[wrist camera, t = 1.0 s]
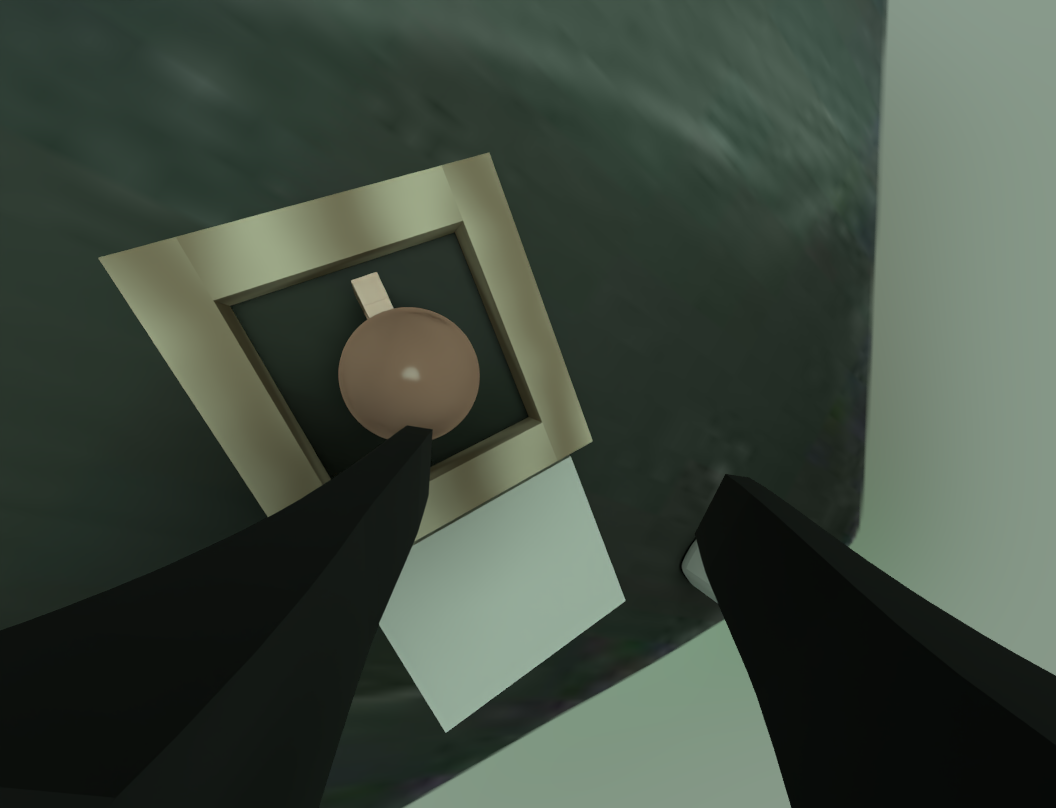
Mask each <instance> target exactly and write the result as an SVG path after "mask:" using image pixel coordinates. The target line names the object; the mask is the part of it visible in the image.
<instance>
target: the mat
mask: <svg viewBox="0 0 1056 808" xmlns="http://www.w3.org/2000/svg"><path fill="white" fill-rule="evenodd" d="M624 601H625V598H624V595H623V593H622V590H621V587H620V585H619V582H618V580H617V577H616V574H615V572H614V569H613V566H612V564H611V561H610V559H609V556H608V553H607V551H606V548H605V545H604V543H603V540H602V538H601V535H600V532H599V530H598V527H597V524H596V522H595V519H594V517H593V514H592V511H591V509H590V506H589V503H588V501H587V498H586V495H585V493H584V490H583V488H582V485H581V482H580V480H579V477H578V474H577V472H576V469H575V467H574V464H573V461H572V459H571V456H569V455H568V456H566V457H564V458H563V459H561V460H559V461H557V462H556V463H554V464H552V465H550V466H548V467H547V468H545V469H543V470H541V471H540V472H538V473H536V474H534V475H532V476H531V477H529V478H527V479H525V480H524V481H522V482H520V483H518V484H517V485H515V486H513V487H511V488H509V489H508V490H506V491H504V492H502V493H501V494H499V495H497V496H495V497H493V498H492V499H490V500H488V501H486V502H485V503H483V504H481V505H479V506H478V507H476V508H474V509H472V510H470V511H469V512H467V513H465V514H463V515H462V516H460V517H458V518H456V519H454V520H453V521H451V522H449V523H447V524H446V525H444V526H442V527H440V528H439V529H437V530H435V531H433V532H431V533H430V534H428V535H426V536H424V537H423V538H421V539H419V540H417V541H415V542H414V543H413V546H412V548H411V550H410V553H409V555H408V557H407V560H406V562H405V565H404V567H403V569H402V571H401V574H400V576H399V578H398V581H397V583H396V585H395V588H394V590H393V592H392V595H391V597H390V599H389V602H388V604H387V606H386V609H385V611H384V613H383V616H382V618H381V620H380V623H379V625H380V627H381V629H382V630H383V632H384V633H385V635H386V637H387V638H388V640H389V642H390V643H391V645H392V646H393V648H394V650H395V651H396V653H397V654H398V656H399V658H400V659H401V661H402V663H403V664H404V666H405V667H406V669H407V671H408V672H409V674H410V676H411V677H412V679H413V680H414V682H415V684H416V685H417V687H418V689H419V690H420V692H421V693H422V695H423V697H424V698H425V700H426V702H427V703H428V705H429V706H430V708H431V710H432V711H433V713H434V714H435V716H436V718H437V719H438V721H439V723H440V724H441V726H442V727H443V729H444V731H445V732H448V731H449V730H450V729H452V728H453V727H454V726H456V725H457V724H458V723H460V722H461V721H462V720H464V719H465V718H467V717H468V716H469V715H471V714H472V713H473V712H475V711H476V710H477V709H479V708H480V707H482V706H483V705H484V704H486V703H487V702H488V701H490V700H491V699H492V698H494V697H495V696H496V695H498V694H499V693H501V692H502V691H503V690H505V689H506V688H507V687H509V686H510V685H511V684H513V683H514V682H516V681H517V680H518V679H520V678H521V677H522V676H524V675H525V674H526V673H528V672H529V671H531V670H532V669H533V668H535V667H536V666H537V665H539V664H540V663H541V662H543V661H544V660H545V659H547V658H548V657H550V656H551V655H552V654H554V653H555V652H556V651H558V650H559V649H560V648H562V647H563V646H565V645H566V644H567V643H569V642H570V641H571V640H573V639H574V638H575V637H577V636H578V635H580V634H581V633H582V632H584V631H585V630H586V629H588V628H589V627H590V626H592V625H593V624H594V623H596V622H597V621H599V620H600V619H601V618H603V617H604V616H605V615H607V614H608V613H609V612H611V611H612V610H614V609H615V608H616V607H618V606H619V605H620V604H622V603H623V602H624Z"/></svg>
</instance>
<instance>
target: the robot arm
mask: <svg viewBox="0 0 1056 808" xmlns="http://www.w3.org/2000/svg"><path fill="white" fill-rule="evenodd" d="M432 434H433V429H428V428H421V427H415V426H408V425H407V426H405V427H404V428H402V429H401V430H400V431H398V432H397V433H395V434H394V435H393V436H391V437H390V438H389V439H387V440H386V441H385V442H383V443H382V444H381V445H379V446H378V447H377V448H375V449H374V450H373V451H371V452H370V453H368V454H367V455H366V456H364V457H363V458H361V459H360V460H359V461H357V462H356V463H354V464H353V465H352V466H350V467H349V468H347V469H346V470H344V471H343V472H342V473H340V474H339V475H337V476H336V477H334V478H333V479H331V480H329V481H328V482H326V483H325V484H323V485H322V486H320V487H318V488H317V489H315V490H314V491H312V492H311V493H309V494H307V495H306V496H304V497H303V498H301V499H299V500H298V501H296V502H294V503H293V504H291V505H289V506H287V507H285V508H284V509H282V510H280V511H278V512H277V513H275V514H273V515H271V516H269V517H267V518H265V519H263V520H261V521H260V522H258V523H256V524H254V525H252V526H250V527H248V528H246V529H244V530H242V531H240V532H238V533H236V534H234V535H232V536H230V537H228V538H226V539H224V540H222V541H219V542H217V543H215V544H213V545H211V546H209V547H206V548H204V549H202V550H200V551H198V552H196V553H193V554H191V555H189V556H187V557H185V558H183V559H180V560H178V561H176V562H174V563H172V564H170V565H167V566H165V567H163V568H161V569H158V570H156V571H154V572H151V573H149V574H146V575H144V576H141V577H139V578H137V579H134V580H132V581H129V582H127V583H125V584H122V585H120V586H117V587H115V588H112V589H110V590H107V591H105V592H102V593H100V594H97V595H95V596H92V597H89V598H87V599H84V600H82V601H79V602H77V603H74V604H71V605H69V606H66V607H64V608H61V609H59V610H56V611H53V612H51V613H48V614H45V615H42V616H40V617H37V618H34V619H32V620H29V621H26V622H24V623H21V624H18V625H15V626H12V627H9V628H6V629H4V630H1V631H0V808H319V805H320V802H321V798H322V795H323V792H324V789H325V785H326V782H327V779H328V776H329V772H330V769H331V766H332V763H333V759H334V756H335V753H336V750H337V747H338V744H339V740H340V737H341V734H342V731H343V728H344V725H345V722H346V718H347V715H348V712H349V709H350V706H351V703H352V700H353V697H354V694H355V691H356V688H357V685H358V681H359V678H360V675H361V672H362V669H363V666H364V663H365V660H366V657H367V654H368V651H369V648H370V646H371V643H372V640H373V638H374V635H375V633H376V630H377V627H378V625H379V623H380V620H381V618H382V616H383V613H384V611H385V609H386V606H387V604H388V602H389V599H390V597H391V595H392V592H393V590H394V588H395V585H396V583H397V581H398V578H399V576H400V574H401V571H402V569H403V567H404V565H405V562H406V560H407V557H408V555H409V553H410V550H411V548H412V546H413V543H414V541H415V538H416V536H417V534H418V530H419V527H420V524H421V520H422V517H423V514H424V510H425V507H426V503H427V500H428V496H429V483H430V467H431V451H432ZM695 536H696V540H697V544H698V548H699V552H700V556H701V559H702V563H703V566H704V569H705V573H706V575H707V578H708V580H709V583H710V585H711V588H712V590H713V593H714V595H715V597H716V600H717V602H718V605H719V607H720V609H721V612H722V614H723V616H724V619H725V621H726V623H727V625H728V628H729V630H730V632H731V635H732V637H733V639H734V641H735V644H736V646H737V648H738V651H739V653H740V655H741V658H742V660H743V663H744V665H745V667H746V669H747V672H748V674H749V677H750V680H751V682H752V685H753V688H754V690H755V693H756V695H757V698H758V701H759V704H760V708H761V710H762V714H763V717H764V720H765V723H766V726H767V729H768V732H769V735H770V738H771V741H772V744H773V747H774V751H775V754H776V757H777V761H778V764H779V767H780V771H781V774H782V778H783V781H784V784H785V788H786V791H787V794H788V798H789V801H790V805H791V808H1056V676H1055V675H1053V674H1051V673H1050V672H1048V671H1046V670H1044V669H1042V668H1040V667H1039V666H1037V665H1035V664H1033V663H1032V662H1030V661H1028V660H1026V659H1024V658H1022V657H1021V656H1019V655H1017V654H1015V653H1013V652H1012V651H1010V650H1008V649H1007V648H1005V647H1003V646H1001V645H1000V644H998V643H996V642H995V641H993V640H991V639H989V638H987V637H986V636H984V635H982V634H981V633H979V632H978V631H976V630H974V629H973V628H971V627H969V626H968V625H966V624H964V623H963V622H961V621H960V620H958V619H956V618H955V617H953V616H951V615H950V614H948V613H947V612H945V611H943V610H942V609H940V608H938V607H937V606H935V605H934V604H932V603H930V602H929V601H927V600H925V599H924V598H922V597H921V596H919V595H917V594H916V593H915V592H913V591H911V590H910V589H909V588H907V587H905V586H904V585H903V584H901V583H900V582H898V581H897V580H895V579H894V578H892V577H891V576H889V575H888V574H886V573H885V572H883V571H882V570H880V569H879V568H877V567H876V566H874V565H873V564H871V563H870V562H868V561H867V560H866V559H864V558H863V557H861V556H860V555H859V554H857V553H856V552H854V551H853V550H852V549H850V548H849V547H847V546H846V545H845V544H843V543H842V542H840V541H839V540H838V539H836V538H835V537H834V536H832V535H831V534H829V533H828V532H827V531H825V530H824V529H822V528H821V527H820V526H818V525H817V524H816V523H814V522H813V521H812V520H810V519H809V518H807V517H806V516H805V515H803V514H802V513H801V512H799V511H798V510H796V509H795V508H794V507H792V506H791V505H790V504H788V503H787V502H785V501H784V500H783V499H781V498H780V497H778V496H777V495H775V494H774V493H773V492H771V491H770V490H768V489H767V488H765V487H764V486H762V485H761V484H759V483H757V482H756V481H754V480H752V479H751V478H748V477H741V476H735V475H728V474H725V476H724V478H723V480H722V482H721V484H720V486H719V488H718V490H717V492H716V494H715V496H714V498H713V500H712V501H711V503H710V505H709V507H708V509H707V511H706V513H705V515H704V517H703V519H702V521H701V523H700V525H699V527H698V529H697V531H696V533H695Z"/></svg>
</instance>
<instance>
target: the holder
mask: <svg viewBox="0 0 1056 808" xmlns="http://www.w3.org/2000/svg"><path fill="white" fill-rule="evenodd" d="M454 232H455V234H456V237H457V239H458V242H459V244H460V247H461V249H462V252H463V254H464V257H465V259H466V262H467V264H468V267H469V269H470V272H471V274H472V277H473V279H474V282H475V284H476V286H477V289H478V291H479V294H480V296H481V299H482V301H483V304H484V306H485V309H486V311H487V314H488V316H489V319H490V321H491V324H492V326H493V329H494V331H495V334H496V336H497V339H498V341H499V344H500V346H501V349H502V351H503V354H504V356H505V359H506V361H507V364H508V366H509V369H510V371H511V374H512V376H513V379H514V381H515V384H516V386H517V389H518V391H519V394H520V396H521V399H522V401H523V404H524V406H525V409H526V411H527V414H528V416H529V417H528V418H526V419H524V420H522V421H520V422H518V423H516V424H514V425H512V426H510V427H508V428H506V429H504V430H502V431H500V432H498V433H496V434H495V435H493V436H491V437H489V438H487V439H485V440H483V441H481V442H479V443H477V444H475V445H473V446H471V447H469V448H467V449H465V450H463V451H461V452H459V453H457V454H455V455H453V456H451V457H449V458H448V459H446V460H444V461H442V462H440V463H438V464H436V465H434V466H432V467H430V483H429V496H428V500H427V503H426V507H425V510H424V514H423V517H422V520H421V524H420V527H419V530H418V534H417V536H416V538H415V541H416V540H418V539H420V538H422V537H424V536H425V535H427V534H429V533H431V532H432V531H434V530H436V529H438V528H439V527H441V526H443V525H445V524H447V523H448V522H450V521H452V520H454V519H455V518H457V517H459V516H461V515H463V514H464V513H466V512H468V511H470V510H471V509H473V508H475V507H477V506H479V505H480V504H482V503H484V502H486V501H487V500H489V499H491V498H493V497H494V496H496V495H498V494H500V493H502V492H503V491H505V490H507V489H509V488H510V487H512V486H514V485H516V484H518V483H519V482H521V481H523V480H525V479H526V478H528V477H530V476H532V475H534V474H535V473H537V472H539V471H541V470H542V469H544V468H546V467H548V466H549V465H551V464H553V463H555V462H557V461H558V460H560V459H562V458H564V457H565V456H567V455H569V454H571V453H573V452H574V451H576V450H578V449H580V448H581V447H583V446H585V445H587V444H588V443H590V442H592V438H591V435H590V432H589V430H588V427H587V424H586V421H585V418H584V416H583V413H582V410H581V407H580V404H579V402H578V399H577V396H576V393H575V391H574V388H573V385H572V382H571V379H570V377H569V374H568V371H567V368H566V365H565V363H564V360H563V357H562V354H561V351H560V349H559V346H558V343H557V340H556V338H555V335H554V332H553V329H552V326H551V324H550V321H549V318H548V315H547V312H546V310H545V307H544V304H543V301H542V298H541V296H540V293H539V290H538V287H537V285H536V282H535V279H534V276H533V273H532V271H531V268H530V265H529V262H528V259H527V257H526V254H525V251H524V248H523V245H522V243H521V240H520V237H519V234H518V232H517V229H516V226H515V223H514V220H513V218H512V215H511V212H510V209H509V206H508V204H507V201H506V198H505V195H504V192H503V190H502V187H501V184H500V181H499V179H498V176H497V173H496V170H495V167H494V165H493V162H492V159H491V156H490V153H486V154H482V155H479V156H475V157H471V158H468V159H464V160H460V161H456V162H453V163H449V164H445V165H442V166H438V167H434V168H430V169H427V170H423V171H419V172H416V173H412V174H408V175H404V176H401V177H397V178H393V179H390V180H386V181H382V182H378V183H375V184H371V185H367V186H364V187H360V188H356V189H352V190H349V191H345V192H341V193H338V194H334V195H330V196H326V197H323V198H319V199H315V200H312V201H308V202H304V203H300V204H297V205H293V206H289V207H286V208H282V209H278V210H274V211H271V212H267V213H263V214H260V215H256V216H252V217H248V218H245V219H241V220H237V221H234V222H230V223H226V224H222V225H219V226H215V227H211V228H208V229H204V230H200V231H196V232H193V233H189V234H185V235H182V236H178V237H174V238H170V239H167V240H163V241H159V242H156V243H152V244H148V245H144V246H141V247H137V248H133V249H130V250H126V251H122V252H118V253H115V254H111V255H107V256H104V257H100V258H99V260H100V261H101V263H102V264H103V266H104V267H105V269H106V270H107V272H108V274H109V275H110V277H111V278H112V280H113V281H114V283H115V284H116V286H117V287H118V289H119V290H120V292H121V293H122V295H123V296H124V298H125V300H126V301H127V303H128V304H129V306H130V307H131V309H132V310H133V312H134V313H135V315H136V316H137V318H138V319H139V321H140V322H141V324H142V325H143V327H144V329H145V330H146V332H147V333H148V335H149V336H150V338H151V339H152V341H153V342H154V344H155V345H156V347H157V348H158V350H159V351H160V353H161V355H162V356H163V358H164V359H165V361H166V362H167V364H168V365H169V367H170V368H171V370H172V371H173V373H174V374H175V376H176V377H177V379H178V380H179V382H180V384H181V385H182V387H183V388H184V390H185V391H186V393H187V394H188V396H189V397H190V399H191V400H192V402H193V403H194V405H195V406H196V408H197V410H198V411H199V413H200V414H201V416H202V417H203V419H204V420H205V422H206V423H207V425H208V426H209V428H210V429H211V431H212V432H213V434H214V435H215V437H216V439H217V440H218V442H219V443H220V445H221V446H222V448H223V449H224V451H225V452H226V454H227V455H228V457H229V458H230V460H231V461H232V463H233V465H234V466H235V468H236V469H237V471H238V472H239V474H240V475H241V477H242V478H243V480H244V481H245V483H246V484H247V486H248V487H249V489H250V490H251V492H252V494H253V495H254V497H255V498H256V500H257V501H258V503H259V504H260V506H261V507H262V509H263V510H264V512H265V513H266V515H267V516H268V517H269V516H271V515H273V514H275V513H277V512H278V511H280V510H282V509H284V508H285V507H287V506H289V505H291V504H293V503H294V502H296V501H298V500H299V499H301V498H303V497H304V496H306V495H307V494H309V493H311V492H312V491H314V490H315V489H317V488H318V487H320V486H322V485H323V484H325V483H326V482H328V481H329V480H331V478H330V477H329V475H328V473H327V472H326V470H325V468H324V466H323V465H322V463H321V461H320V460H319V458H318V456H317V454H316V453H315V451H314V449H313V448H312V446H311V444H310V442H309V441H308V439H307V437H306V436H305V434H304V432H303V430H302V429H301V427H300V425H299V424H298V422H297V420H296V418H295V417H294V415H293V413H292V412H291V410H290V408H289V406H288V405H287V403H286V401H285V400H284V398H283V396H282V394H281V393H280V391H279V389H278V388H277V386H276V384H275V382H274V381H273V379H272V377H271V376H270V374H269V372H268V370H267V369H266V367H265V365H264V364H263V362H262V360H261V358H260V357H259V355H258V353H257V352H256V350H255V348H254V346H253V345H252V343H251V341H250V340H249V338H248V336H247V334H246V333H245V331H244V329H243V328H242V326H241V324H240V322H239V321H238V319H237V317H236V316H235V314H234V312H233V310H232V309H231V307H230V306H231V305H234V304H237V303H241V302H244V301H247V300H250V299H253V298H256V297H259V296H262V295H265V294H268V293H271V292H274V291H277V290H280V289H283V288H286V287H289V286H292V285H296V284H299V283H302V282H305V281H308V280H311V279H314V278H317V277H320V276H323V275H326V274H329V273H332V272H335V271H338V270H341V269H344V268H347V267H351V266H354V265H357V264H360V263H363V262H366V261H369V260H372V259H375V258H378V257H381V256H384V255H387V254H390V253H393V252H396V251H399V250H402V249H406V248H409V247H412V246H415V245H418V244H421V243H424V242H427V241H430V240H433V239H436V238H439V237H442V236H445V235H448V234H451V233H454ZM415 541H414V542H415Z"/></svg>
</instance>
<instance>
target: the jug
mask: <svg viewBox="0 0 1056 808" xmlns="http://www.w3.org/2000/svg"><path fill="white" fill-rule="evenodd" d="M351 283H352V287H353V290H354V294H355V296H356V298H357V300H358V302H359V304H360V306H361V308H362V310H363V312H364V314H365V316H366V318H367V320H366V321H365V322H364V323H362V324H361V325H360V326H359V327H358V328H357V329H356V330H355V331H354V332H353V334H352V335H351V336H350V338H349V339H348V341H347V343H346V345H345V347H344V349H343V351H342V355H341V358H340V363H339V385H340V390H341V394H342V397H343V399H344V401H345V404H346V406H347V407H348V409H349V411H350V412H351V414H352V415H353V416H354V417H355V418H356V420H357V421H358V422H359V423H360V424H361V425H363V426H364V427H365V428H366V429H368V430H369V431H371V432H372V433H374V434H376V435H378V436H380V437H382V438H385V439H389V438H390V437H391V436H393V435H394V434H395V433H397V432H398V431H400V430H401V429H402V428H404V427H405V426H407V425H408V426H415V427H421V428H428V429H433V434H432V440H433V439H435V438H438V437H440V436H442V435H444V434H446V433H448V432H449V431H451V430H452V429H453V428H455V427H456V426H457V425H458V424H459V423H460V422H461V421H462V420H463V419H464V418H465V417H466V415H467V414H468V412H469V411H470V409H471V408H472V406H473V403H474V401H475V399H476V396H477V393H478V388H479V378H480V373H479V365H478V360H477V356H476V354H475V351H474V349H473V347H472V345H471V343H470V341H469V340H468V338H467V337H466V335H465V334H464V333H463V332H462V331H461V329H460V328H458V327H457V326H456V325H455V324H454V323H453V322H451V321H450V320H448V319H447V318H445V317H444V316H442V315H440V314H438V313H435V312H432V311H430V310H426V309H422V308H414V307H401V308H395V309H394V308H393V306H392V304H391V302H390V300H389V297H388V295H387V293H386V291H385V289H384V286H383V284H382V282H381V280H380V278H379V276H378V274H377V272H375V273H372V274H369V275H366V276H363V277H360V278H357V279H354V280H351Z"/></svg>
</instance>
